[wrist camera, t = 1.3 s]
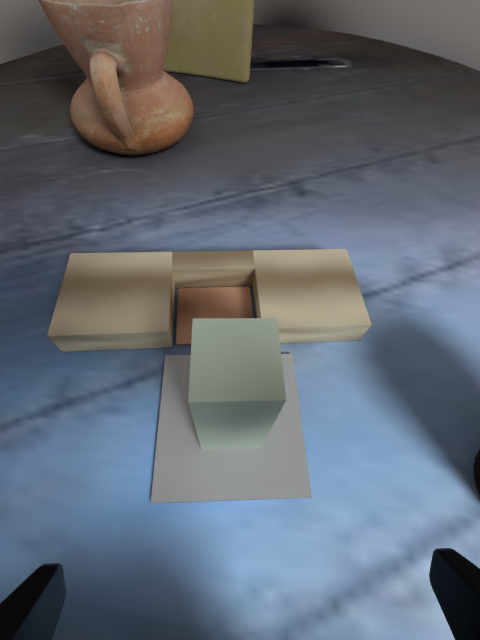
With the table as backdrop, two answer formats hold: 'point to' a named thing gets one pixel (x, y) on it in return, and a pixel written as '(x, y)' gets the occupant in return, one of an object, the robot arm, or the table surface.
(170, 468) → the mat
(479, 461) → the coffee mug
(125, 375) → the table surface
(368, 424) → the table surface
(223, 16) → the cheese
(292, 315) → the block
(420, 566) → the table surface
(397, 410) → the table surface
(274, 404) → the sage block
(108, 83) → the ceramic jug
